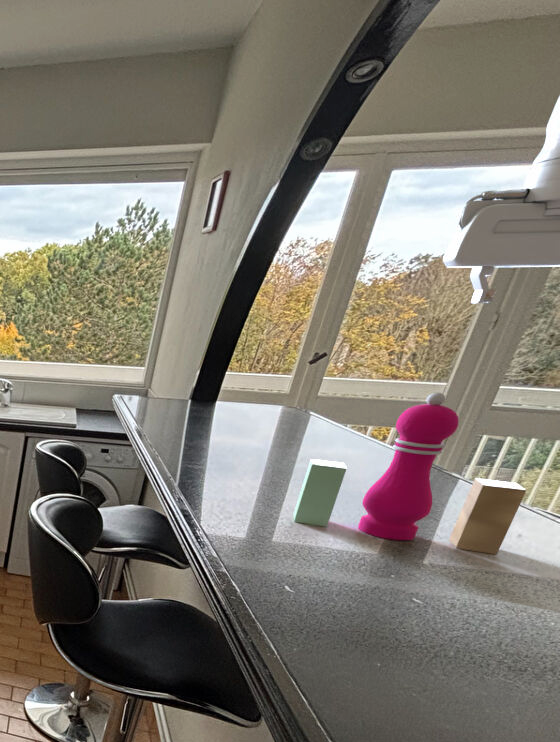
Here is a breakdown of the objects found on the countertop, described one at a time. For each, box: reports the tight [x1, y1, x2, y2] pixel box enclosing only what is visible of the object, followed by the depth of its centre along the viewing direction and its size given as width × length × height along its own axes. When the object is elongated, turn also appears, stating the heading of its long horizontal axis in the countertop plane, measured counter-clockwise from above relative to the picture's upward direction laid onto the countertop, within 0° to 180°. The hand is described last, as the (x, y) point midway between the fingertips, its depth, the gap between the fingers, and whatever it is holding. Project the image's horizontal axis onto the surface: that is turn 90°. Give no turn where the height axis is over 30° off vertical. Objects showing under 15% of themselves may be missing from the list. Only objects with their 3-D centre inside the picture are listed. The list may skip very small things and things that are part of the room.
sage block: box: [292, 458, 347, 528], centre depth 88 cm, size 4×4×9 cm
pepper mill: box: [357, 392, 460, 541], centre depth 82 cm, size 7×7×20 cm
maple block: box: [449, 477, 527, 556], centre depth 79 cm, size 4×4×9 cm
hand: (524, 303), depth 80 cm, fingers open, 8 cm apart
